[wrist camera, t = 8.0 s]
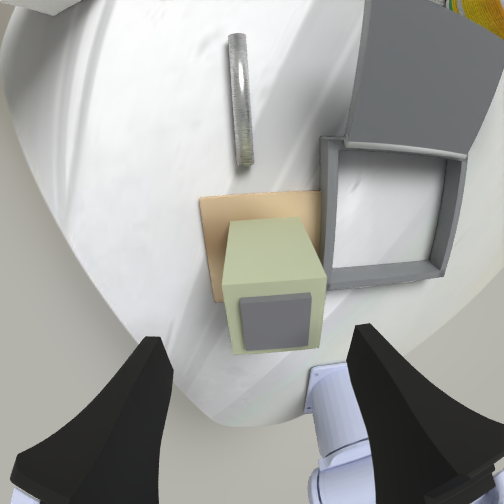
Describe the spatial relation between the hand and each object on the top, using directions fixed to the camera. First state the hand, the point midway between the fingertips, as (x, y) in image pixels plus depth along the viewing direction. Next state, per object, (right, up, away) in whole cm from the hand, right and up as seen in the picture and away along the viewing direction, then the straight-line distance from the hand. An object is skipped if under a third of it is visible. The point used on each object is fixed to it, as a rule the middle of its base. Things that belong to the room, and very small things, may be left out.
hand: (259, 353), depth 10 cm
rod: (-1, +13, +5) cm, 13 cm away
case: (+10, +7, +8) cm, 14 cm away
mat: (+1, +4, +9) cm, 10 cm away
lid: (+9, +14, +4) cm, 17 cm away
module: (+1, +4, +9) cm, 10 cm away
